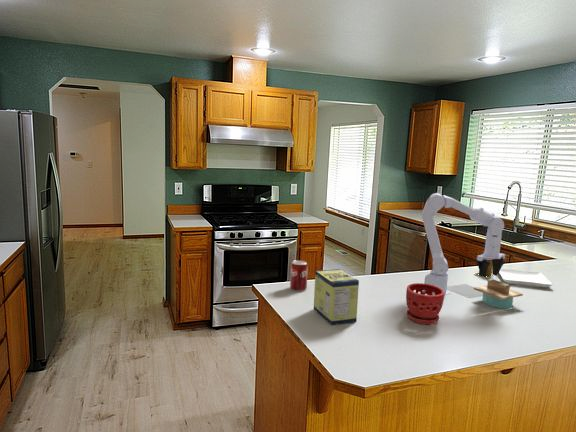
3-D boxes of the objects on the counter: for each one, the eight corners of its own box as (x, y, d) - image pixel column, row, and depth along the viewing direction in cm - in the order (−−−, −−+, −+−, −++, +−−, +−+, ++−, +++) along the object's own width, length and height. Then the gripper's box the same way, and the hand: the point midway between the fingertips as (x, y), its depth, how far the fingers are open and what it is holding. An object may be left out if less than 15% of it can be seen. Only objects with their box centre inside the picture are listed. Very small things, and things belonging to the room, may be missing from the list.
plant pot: (397, 314, 156) (399, 284, 154) (425, 311, 160) (428, 281, 158) (419, 329, 144) (422, 296, 142) (449, 324, 148) (452, 292, 146)
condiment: (494, 275, 214) (497, 253, 212) (488, 278, 208) (490, 255, 206) (480, 272, 219) (482, 250, 217) (473, 275, 213) (476, 252, 211)
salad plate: (502, 285, 198) (503, 278, 198) (494, 273, 218) (495, 267, 218) (552, 291, 192) (553, 284, 192) (539, 278, 213) (540, 272, 212)
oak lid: (501, 299, 162) (502, 289, 161) (473, 289, 174) (474, 279, 173) (522, 295, 168) (523, 285, 167) (494, 285, 179) (495, 276, 179)
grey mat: (469, 299, 176) (469, 298, 176) (442, 288, 189) (442, 287, 189) (493, 295, 182) (493, 294, 182) (465, 284, 196) (465, 283, 196)
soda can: (307, 286, 184) (308, 260, 182) (306, 292, 177) (307, 265, 175) (290, 285, 184) (291, 259, 183) (289, 291, 177) (290, 264, 175)
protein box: (336, 306, 162) (339, 268, 159) (357, 322, 147) (360, 280, 145) (312, 309, 158) (314, 270, 155) (331, 325, 144) (333, 282, 141)
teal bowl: (499, 310, 164) (501, 298, 163) (476, 301, 174) (477, 290, 173) (518, 307, 169) (519, 295, 168) (494, 298, 178) (495, 287, 178)
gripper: (488, 248, 167) (484, 280, 169) (512, 245, 173) (508, 277, 175) (474, 244, 173) (470, 275, 175) (498, 242, 179) (494, 272, 181)
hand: (488, 275), depth 175 cm, fingers open, 7 cm apart
